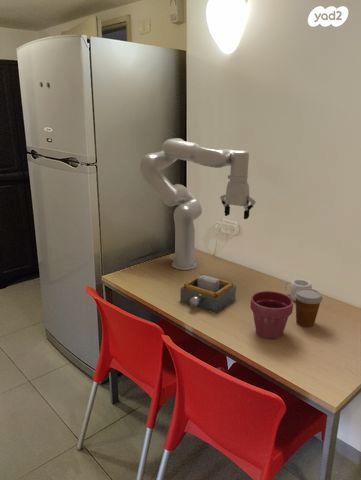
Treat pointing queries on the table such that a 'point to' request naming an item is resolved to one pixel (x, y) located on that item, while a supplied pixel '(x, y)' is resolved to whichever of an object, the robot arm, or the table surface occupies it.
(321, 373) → the table surface
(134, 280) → the table surface
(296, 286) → the mug
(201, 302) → the box
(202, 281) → the medicine box
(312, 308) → the disposable coffee cup
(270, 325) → the plant pot
